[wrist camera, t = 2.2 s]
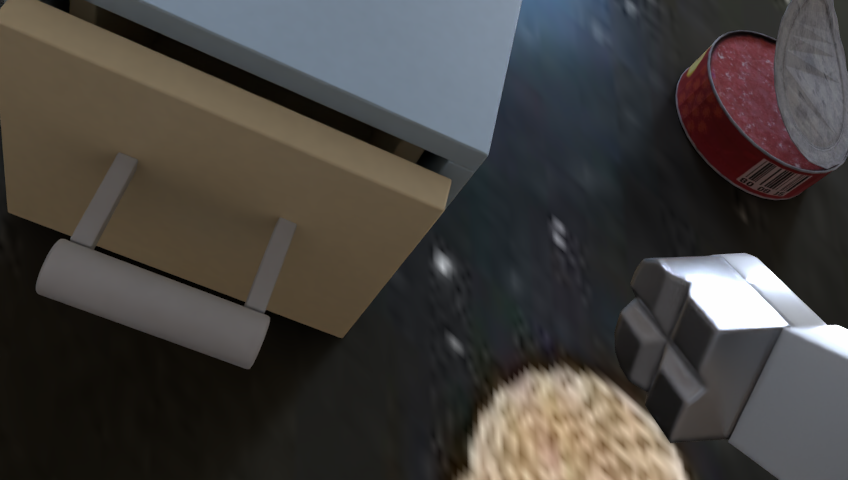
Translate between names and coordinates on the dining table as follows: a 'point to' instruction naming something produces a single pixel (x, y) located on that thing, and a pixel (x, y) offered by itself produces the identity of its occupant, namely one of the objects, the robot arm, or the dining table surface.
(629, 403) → the dining table surface
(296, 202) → the beige drawer
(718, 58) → the canned food
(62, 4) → the drawer casing
